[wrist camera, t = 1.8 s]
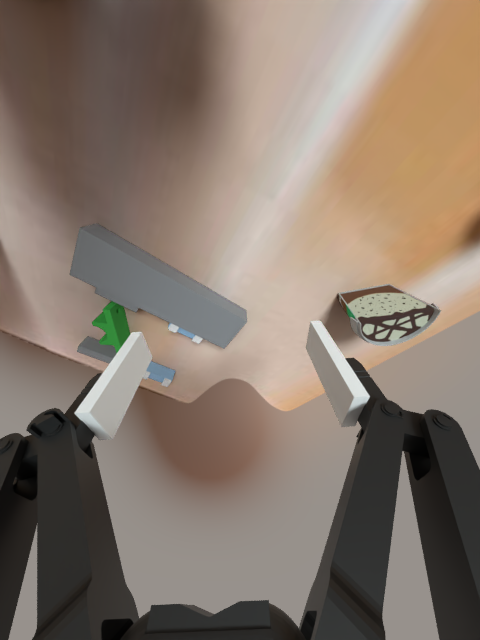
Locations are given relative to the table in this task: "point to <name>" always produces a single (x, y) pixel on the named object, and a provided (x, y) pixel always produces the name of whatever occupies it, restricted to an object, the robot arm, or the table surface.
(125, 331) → the pipe clamp
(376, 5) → the table surface
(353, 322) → the food container
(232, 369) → the table surface
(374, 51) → the table surface
